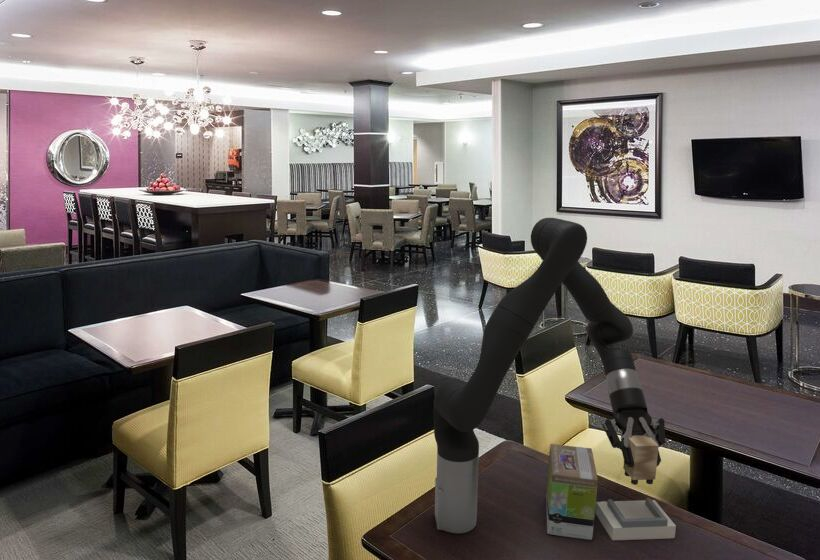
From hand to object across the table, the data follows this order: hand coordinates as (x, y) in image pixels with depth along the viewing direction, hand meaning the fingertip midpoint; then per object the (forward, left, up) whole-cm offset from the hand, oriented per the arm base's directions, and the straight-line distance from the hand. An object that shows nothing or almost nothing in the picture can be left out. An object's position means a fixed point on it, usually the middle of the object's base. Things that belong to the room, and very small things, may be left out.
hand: (644, 465), depth 129 cm
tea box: (-14, +6, -16) cm, 22 cm away
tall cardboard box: (0, +2, -4) cm, 5 cm away
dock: (0, +2, -16) cm, 16 cm away
